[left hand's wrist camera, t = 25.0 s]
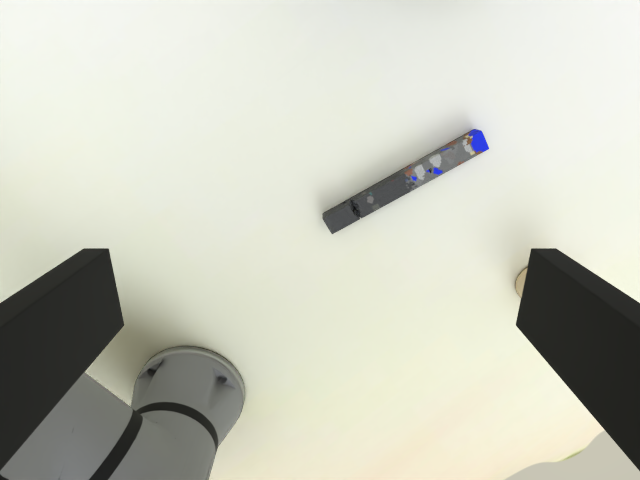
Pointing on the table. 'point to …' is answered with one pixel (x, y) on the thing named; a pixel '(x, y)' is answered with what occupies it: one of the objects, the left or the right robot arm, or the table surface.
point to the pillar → (406, 180)
